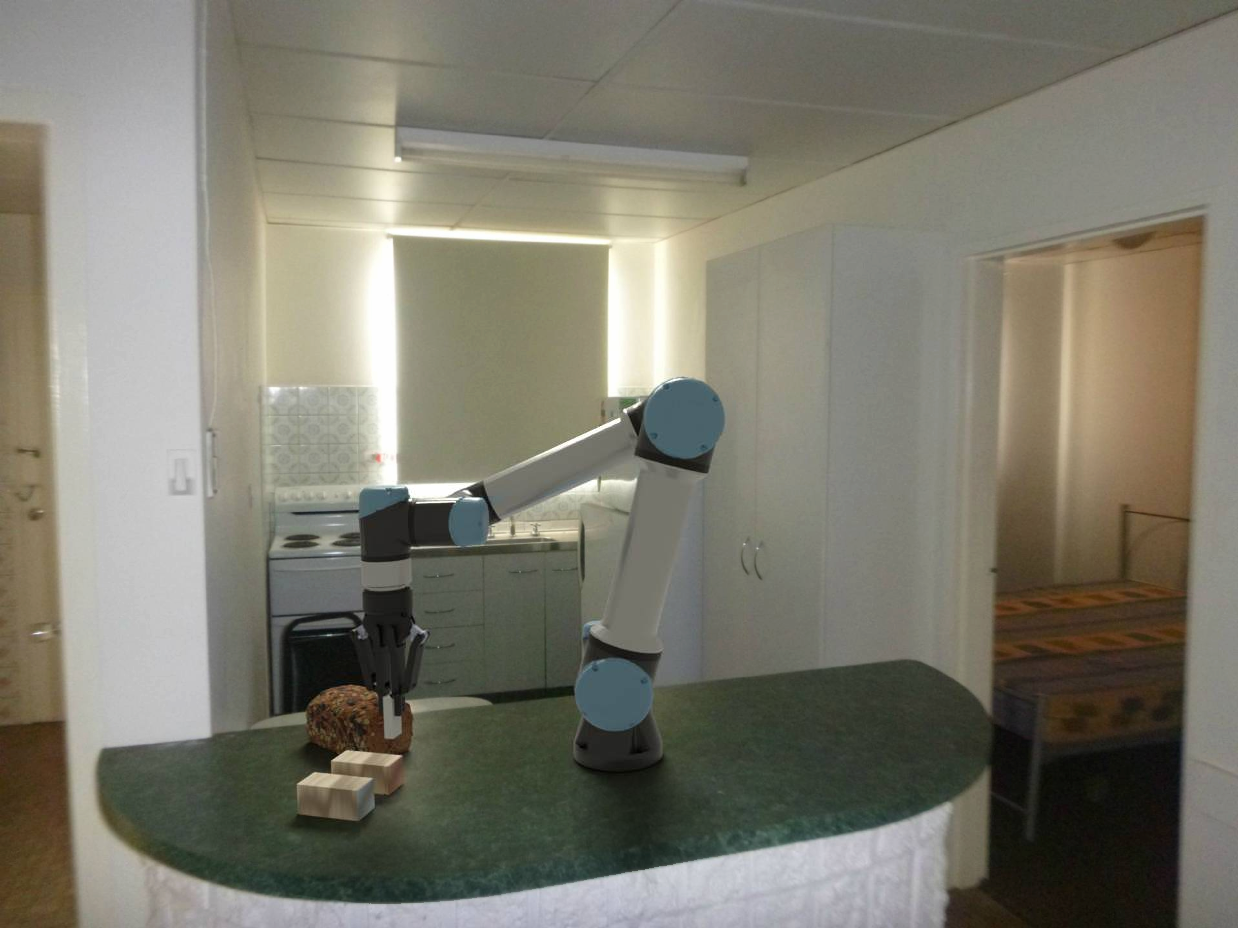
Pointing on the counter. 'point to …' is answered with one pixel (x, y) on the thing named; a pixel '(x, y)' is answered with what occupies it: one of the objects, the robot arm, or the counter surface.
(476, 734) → the counter surface
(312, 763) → the counter surface
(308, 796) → the light wood rectangular bar
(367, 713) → the bread
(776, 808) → the counter surface
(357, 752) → the light wood tall block
